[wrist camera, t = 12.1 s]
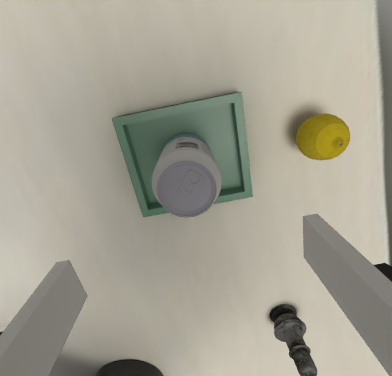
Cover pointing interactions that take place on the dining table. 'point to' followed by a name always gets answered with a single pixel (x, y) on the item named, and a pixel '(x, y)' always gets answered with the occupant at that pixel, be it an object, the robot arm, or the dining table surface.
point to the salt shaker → (293, 337)
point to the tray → (187, 124)
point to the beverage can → (186, 176)
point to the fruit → (323, 137)
